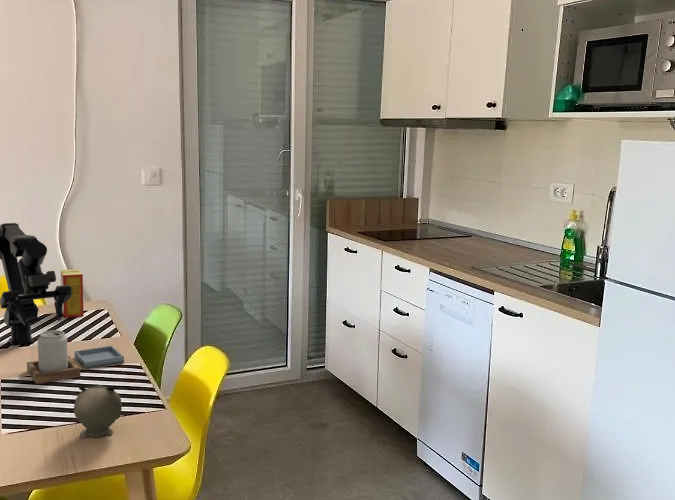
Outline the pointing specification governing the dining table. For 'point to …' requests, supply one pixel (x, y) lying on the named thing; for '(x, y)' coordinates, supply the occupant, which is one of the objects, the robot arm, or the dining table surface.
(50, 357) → the can
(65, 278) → the baking soda box
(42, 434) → the dining table surface
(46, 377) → the holder collar
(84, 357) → the tray
